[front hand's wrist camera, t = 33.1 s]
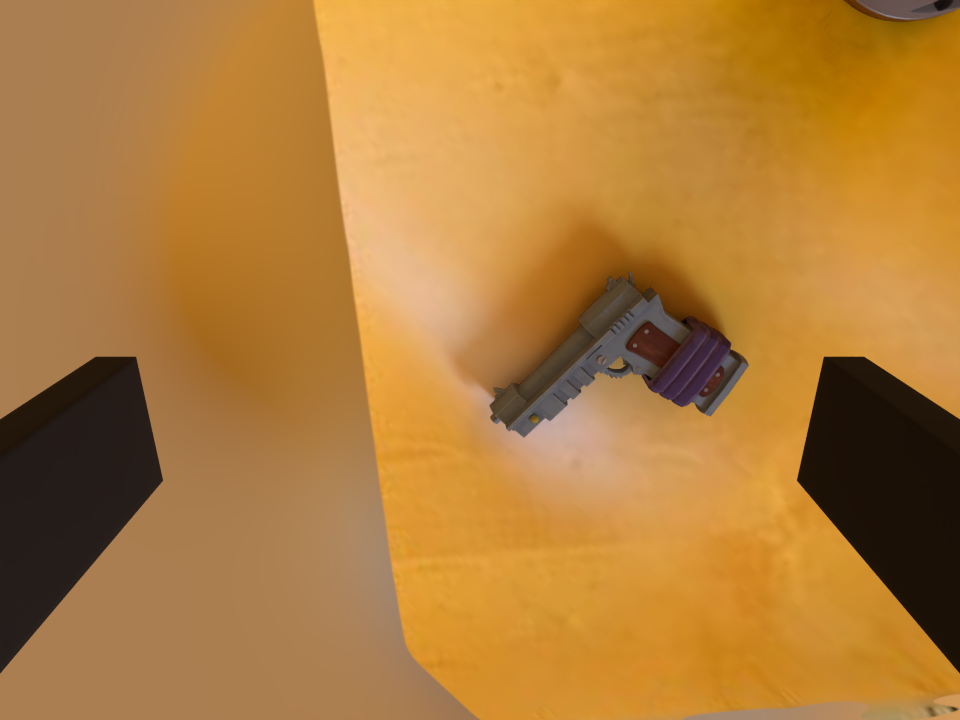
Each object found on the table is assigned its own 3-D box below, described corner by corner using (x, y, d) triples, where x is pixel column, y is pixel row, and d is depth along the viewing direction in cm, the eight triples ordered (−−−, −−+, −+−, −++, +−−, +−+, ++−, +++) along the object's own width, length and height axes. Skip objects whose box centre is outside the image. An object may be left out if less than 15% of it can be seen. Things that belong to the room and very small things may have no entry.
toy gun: (592, 491, 61) (476, 396, 57) (746, 358, 55) (629, 243, 52) (599, 516, 57) (475, 415, 53) (764, 375, 52) (640, 253, 48)
